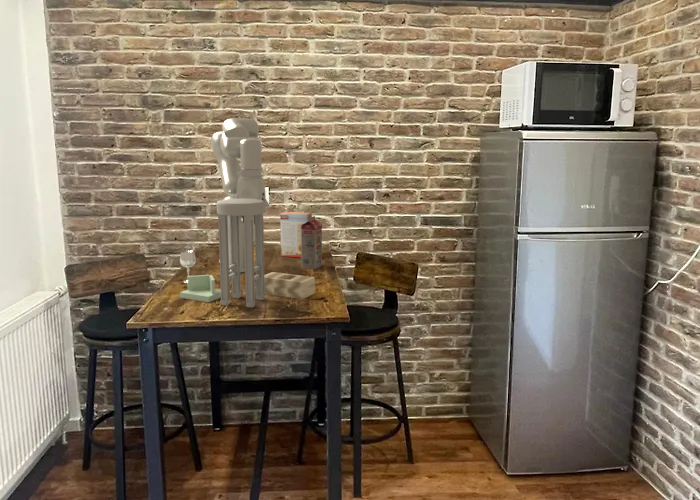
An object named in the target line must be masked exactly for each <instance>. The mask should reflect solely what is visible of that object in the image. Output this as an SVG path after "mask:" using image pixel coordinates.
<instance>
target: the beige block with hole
mask: <svg viewBox="0 0 700 500" xmlns="http://www.w3.org/2000/svg"><path fill="white" fill-rule="evenodd" d="M264 277H265V295H269V296H270V295H271V296H277V297H283V296H284V297H285V298H290V297H291V299H297V300H304V299H306V298H308V297H310V296H313V295H314V294H315V293H316V278H315V276H308V275H307V276H306V275H299V274H293V273H292V274H290V273H284V272H276V271H275V272H274V271H272V272H269V273H267V274H264Z"/></svg>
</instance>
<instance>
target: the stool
mask: <svg viewBox="0 0 700 500" xmlns="http://www.w3.org/2000/svg"><path fill="white" fill-rule="evenodd" d="M223 199H224V198H223ZM223 199H220V200H218V201H216V213H217V221H218V222H217V223H218V224H217V225H218V252H219V261H220V263H219V275H220V276H219V277H220V278H219V279H220V280H219V281H220V283H219V285H220V290H221V298H220V306H226V307H228V306H229V305H231V297H232V299H240V298H241V297H242V289H241V288H242V284H241V283H242V279H241V278H242V277H241V273H240V241H239V216H244V244H245V272H244V276H245V278H244V279H245V307H246V308H254V307H255V306H256V300H257V301H264V300H265V299H266V294H265V277H264V275H265V233H264V232H265V230H264V214H265V213H266V208H265V202H264V201H263V200H259V199H245V198H243V199H224V200H223ZM263 213H264V214H263ZM227 215H229V216H230V234H231V265H230V266H229V249H228V217H227ZM253 215H255V243H254V237H253ZM230 270H232V273H229V271H230ZM230 281H231V284H230ZM230 289H231V290H230ZM231 293H232V294H231ZM255 293H256V294H255ZM231 295H232V296H231Z"/></svg>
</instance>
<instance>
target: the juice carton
mask: <svg viewBox="0 0 700 500" xmlns="http://www.w3.org/2000/svg"><path fill="white" fill-rule="evenodd" d="M322 252H323V224H322V223H321V222H319V220H316V216H315V215H312V217H309V218H308V222H306V223H304V224H302V225H301V256H302V258H301V269H302V268H303V269H313V270H316V269H319V268H320V267H322V266H323V265H322V264H323V263H322V262H323V253H322Z"/></svg>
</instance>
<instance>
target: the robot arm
mask: <svg viewBox="0 0 700 500" xmlns="http://www.w3.org/2000/svg"><path fill="white" fill-rule="evenodd" d="M221 129H222V130H221V131H217V132H215V133H213V134H212V136H211V148H212V152H213V155H214V157H215V159H216V161H217V163H218V166H219V172H220V179H221V185H222V189H223V192H224V194H226V195H228V196H226V197H224V198H223V199H222V200H224V199H243V198H245V199H259V200H263V201H264V202H265V209H267V208H269V206H270V203H269V201H268V200H267V198H266V186H265V179H264V177H263V175H262V174H263V173H262V172H263V171H262V169H263V167H262V151H263V149H262V142H261V140H260V139H258V137H259V133H260V130H259V129H260V128H259V123H257V121H256V119H253V118H247V117H242V118H241V117H231V118H227V119H226V120H224V122H223V123H222V126H221ZM238 159H240V161H239V160H238ZM264 214H265V213H263V215H264ZM227 217H228V249H229V266H230V265H231V234H230V216H229V215H227ZM239 241H240V274H241V273H245V244H244V216H239ZM218 264H220V260H219V261H218ZM229 274H232V270H230V271H229Z"/></svg>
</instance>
